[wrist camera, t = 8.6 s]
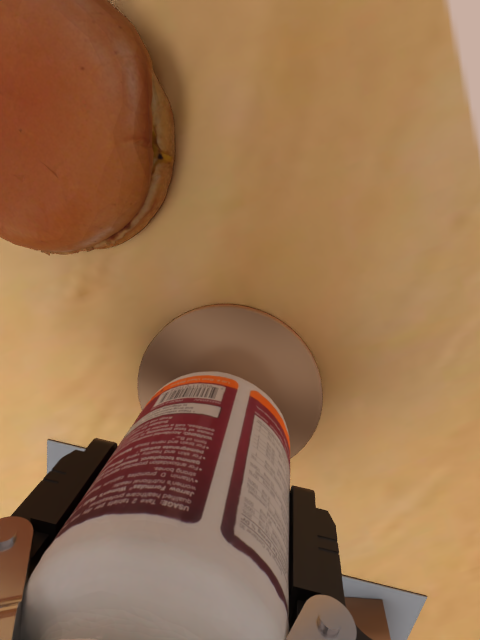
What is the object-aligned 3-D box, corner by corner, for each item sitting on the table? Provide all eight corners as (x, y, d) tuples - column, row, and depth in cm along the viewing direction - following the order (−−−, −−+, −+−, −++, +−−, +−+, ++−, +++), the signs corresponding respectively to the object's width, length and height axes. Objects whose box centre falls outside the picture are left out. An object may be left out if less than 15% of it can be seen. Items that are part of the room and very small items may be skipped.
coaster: (150, 286, 18) (146, 289, 18) (343, 326, 18) (344, 330, 17) (135, 444, 21) (130, 452, 21) (298, 483, 21) (298, 492, 20)
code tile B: (286, 561, 22) (286, 562, 22) (426, 596, 22) (427, 598, 22) (259, 650, 25) (259, 652, 25) (384, 684, 24) (384, 686, 24)
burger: (197, 235, 17) (163, 250, 13) (10, 256, 19) (-77, 275, 14) (156, -36, 14) (94, -137, 10) (-60, 15, 16) (-196, -53, 12)
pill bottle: (123, 449, 17) (-160, 875, 6) (184, 337, 15) (-84, 692, 4) (245, 516, 17) (166, 1032, 7) (321, 415, 15) (383, 927, 5)
